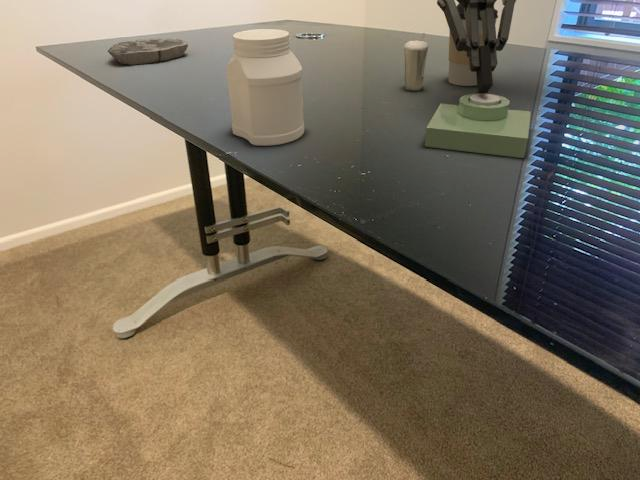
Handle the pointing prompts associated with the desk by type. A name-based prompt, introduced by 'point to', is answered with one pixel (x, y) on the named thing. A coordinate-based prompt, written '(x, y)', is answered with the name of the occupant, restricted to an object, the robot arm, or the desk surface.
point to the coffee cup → (463, 56)
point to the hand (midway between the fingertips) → (485, 88)
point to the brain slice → (148, 50)
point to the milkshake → (415, 63)
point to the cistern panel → (479, 128)
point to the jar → (265, 88)
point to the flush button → (484, 99)
